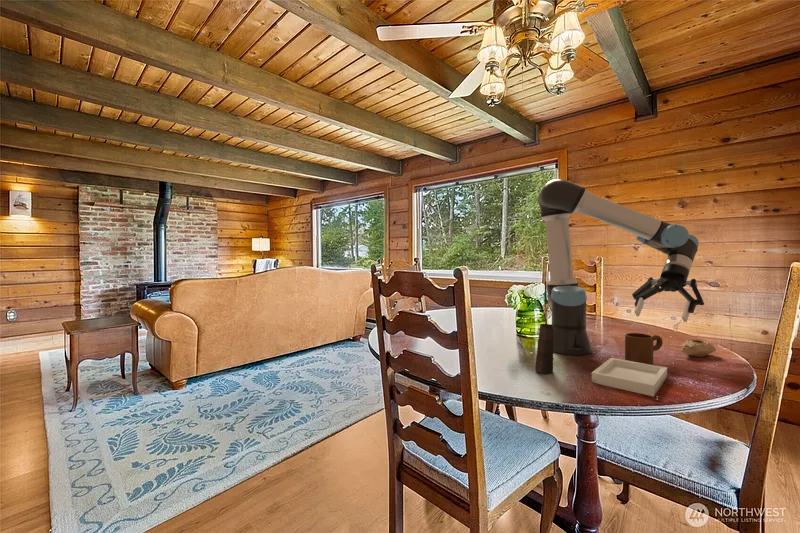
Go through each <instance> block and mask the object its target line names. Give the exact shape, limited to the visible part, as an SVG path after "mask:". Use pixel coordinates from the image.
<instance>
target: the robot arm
mask: <svg viewBox="0 0 800 533" xmlns="http://www.w3.org/2000/svg"><path fill="white" fill-rule="evenodd" d="M538 194H539V195H538V198H537V200H538V205H539V210H540V218H541V220H542V221H543V222H545V223H544V224H545V234H546V243H547V254H548V255H547V257H548V265H549V266H548V268H549V269H548V270H549V278H550V279H549V280H548V282H546V286H547V288H546V289H547V295H548V296H547V297H548V302H547V305H548V307H549V308H550V310H551V324H552V325H553V342H554V343H553V353H557V354H560V355H561V354H562V355H568V356H570V355H571V356H585V355H590V354H591V353H592V352H593V351H592V350H593V349H592V348H593V347H592V343H591V340H590V337H589V334H588V332H587V299H588V298H587V291H586V290H585V289H584V288H583V287H579V282H578V281H577V279H575V278H574V271H573V270H574V269H573V259H572V247H571V234H570V225H569V224H570V222H569V219H570V217H571V216H572V215H573V214H574V213H577V212H578V213H580V214H582V215H584V216H587V217H590V218H593V220H597V221H600V222H602V223H604V224H607V225H610V226H612V227H615V228H617V229H620V230H622V231H625V232H627V233H630V234H632V235H635V236H636V237H635V238H636V240H637V241H639V242H640V243H642V244H643V245H646V246H648V247H650V248H652V249H654V250H657V251H659V252H661V253H663V254H665V255H667V257H666V261H665V262H664V264H663V268H662V271H661V272H660V277H659V278H658V279H655V278H653V276H650V277H648V279H647V281H646V282H645V283H644V284H642V285H641V286H639V288H638V289H636V290H635V291H634V292H633V293H632V294H631V295H632V297H633V300H635V302H634V307H635V308H634V314H635V316H636V317H640V314H641V312H642V310H643V308H644V305H645V300H648V299H649V298H650V297H652V296H654V295H656V294H658V293H662V292H672V293H676V292H678V293H679V294H681V295H682V296H683V298H685V299H686V304H685V306H684V309H683V313H682V315H681V318H682V321H683V323H688V319H689V317H690V314H694V313H695V310H696V308H697V306H704V305H705V303H704V300H703V298H702V295H701V293H700V290H699V289H698V283H697V280H696V279H695V278H692V279H691V280H688V278H689V275H690V271H691V269H692V267H693V266H692V265H693V263H694V260H695V258H696V257H695V256H696V254H697V253H698V250H699V244H700V243H699V240H698V238H697V236H695V235H693V234H689V230H688V229H687V228H686V227H685V226H684V225H681V224H675V223H674V224H673V223H672V224H671V223H669V222H667V221H663V220H661V219H658V218H655V217H653V216H650V215H649V214H645V213H642V212H640V211H637V210H635V209H632V208H630V207H627V206H624V205H622V204H619V203H617V202H614V201H612V200H610V199H606V198H604V197H601V196H598V195H595V194H593V193H591V192H588V190H587V188H586V187H584V186H581V185H579V184H576V183H574V182H571V181H569V180H566V179H562V178H556V179H551V180H549V181H548V182H547V183H545V185H544V186H542V189H541V190H540V192H539V193H538ZM686 286H689V288H691V289H692V291H693V293H694V296H695V298H696V299H695V298H694V297H693V296H692V295H691V294H690V293H689V292H688V291H687V290H686V289H685V288H684V287H686Z"/></svg>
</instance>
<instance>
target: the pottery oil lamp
mask: <svg viewBox="0 0 800 533" xmlns="http://www.w3.org/2000/svg"><path fill="white" fill-rule="evenodd" d="M680 350H681V352H682V353H683V354H686V355H688V356H689V355H690V356H693V357H697V358H698V357H701V358H702V357H705V356H707V355H710V354H712V353H713V352H716V351H717V348H716V347H715V345H713V344H711V343H710V342H709V341H707V340H702V339H696V338H690V339H687V340H685V341H684V342H683V343H682V344H681V349H680Z"/></svg>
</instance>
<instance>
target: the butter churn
mask: <svg viewBox="0 0 800 533" xmlns="http://www.w3.org/2000/svg"><path fill="white" fill-rule="evenodd" d="M547 295H548V291H547V281H546V280H545V281H544V319H545V320H544V321H545V322H544V323H540V325H539V331H538V332H539V333H538V340H537V348H536V349H537V350H536V357H535V364H534V365H535V368H534V370H535V372H536V373H539V374H544V375H547V374H553V373H554V352H553V343H554V342H553V325H552V323H551V324H549V323H548V313H547V312H548V311H547V310H548V308H547V307H548V306H547V305H548V302H547V297H548V296H547Z"/></svg>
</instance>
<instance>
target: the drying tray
mask: <svg viewBox="0 0 800 533" xmlns="http://www.w3.org/2000/svg"><path fill="white" fill-rule="evenodd" d="M667 378H668V367H665V366H661V365H660V366H659V365H654V364H653V365H650V364H644V363H638V362H633V361H627V360H625V359H620V358H615V357H610V358H609V359H606V361H605V362H603V363H602V364H601V365H599V366H597V368H595V369H594V370H593V371H592V372H591V383H593V384H597V385H602V386H606V387H610V388H615V389H619V390H623V391H628V392H632V393H637V394H641V395H646V396H648V397H649V396H650V397H655V396H656V394H657V393H658V391H659V390H660V388H661V387H662V385H663V384H664V382H666V379H667Z"/></svg>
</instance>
